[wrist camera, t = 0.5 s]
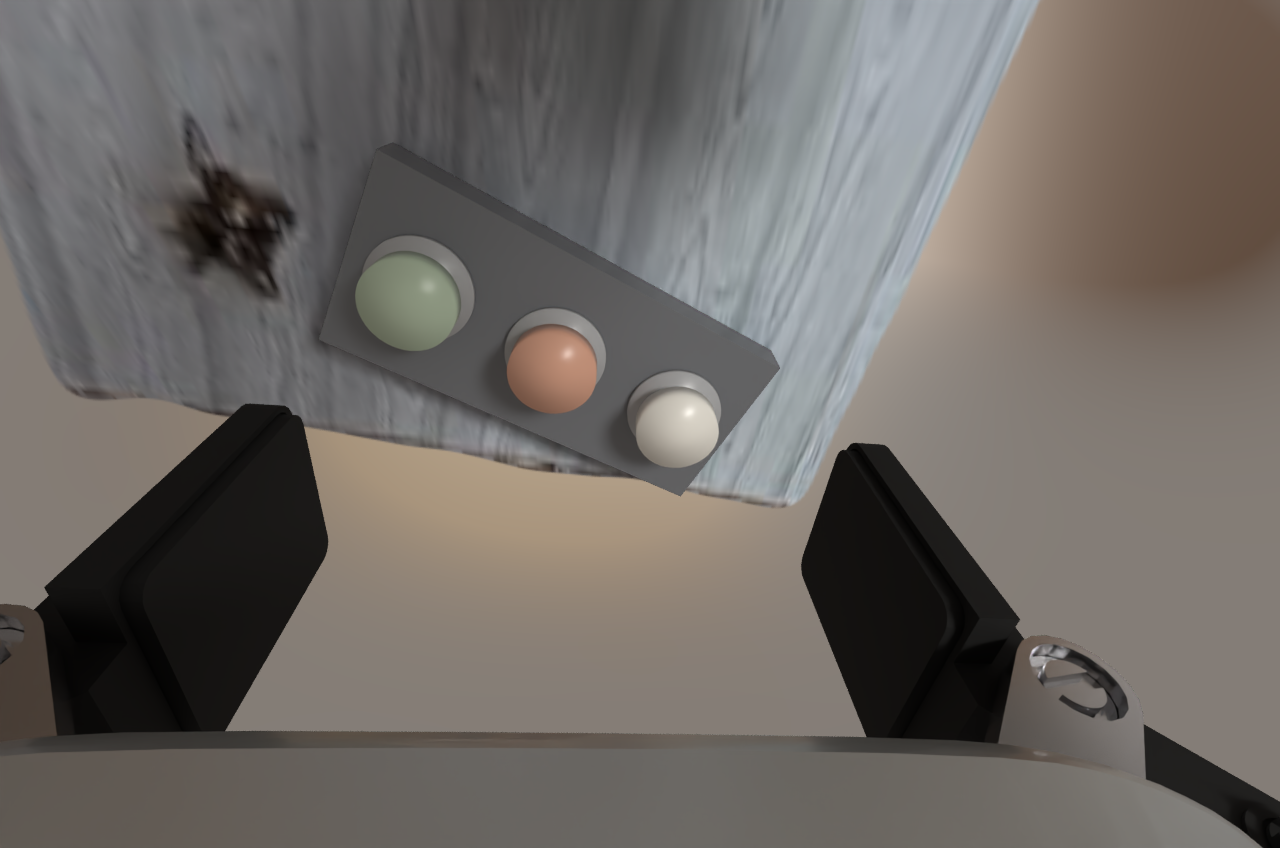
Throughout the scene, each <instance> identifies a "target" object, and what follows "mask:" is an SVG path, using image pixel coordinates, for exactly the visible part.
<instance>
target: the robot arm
mask: <svg viewBox="0 0 1280 848" xmlns="http://www.w3.org/2000/svg"><path fill="white" fill-rule="evenodd" d="M327 548H328V535H327V531H326V526H325V522H324V517H323V512H322V508H321V503H320V499H319V494H318V489H317V485H316V480H315V476H314V471H313V466H312V462H311V457H310V453H309V448H308V443H307V439H306V434H305V430H304V425H303V422H302V419H301V418H300V417H299V416H297V415H292V413H291V411H290V410H289V408H287V407H286V406H279V405H264V404H245V405H243V406H242V407H240V408H239V409H238V410H237V411H236V412H235V413H234V414H233V415H232V416H231V417H230V418H228V419H227V420H226V421H225V422H224V423H223V424H222V425H221V426H220V427H219V428H218V429H216V430H215V431H214V432H213V433H212V434H211V435H210V436H209V437H208V438H207V439H206V440H204V441H203V442H202V443H201V444H200V445H199V446H198V447H197V448H196V449H195V450H194V451H192V452H191V454H189V455H188V456H187V457H186V458H185V459H184V460H183V461H182V462H180V463H179V464H178V465H177V466H176V467H175V468H174V469H173V470H172V471H171V472H170V473H168V474H167V475H166V476H165V477H164V478H163V479H162V480H161V481H160V482H159V483H158V484H156V485H155V486H154V487H153V488H152V489H151V490H150V491H149V492H148V493H147V494H146V495H145V496H143V497H142V498H141V499H140V500H139V501H138V502H137V503H136V504H135V505H134V506H132V507H131V508H130V509H129V510H128V511H127V512H126V513H125V514H124V515H123V516H122V517H120V518H119V519H118V520H117V521H116V522H115V523H114V524H113V525H112V526H111V527H110V528H109V529H107V530H106V531H105V532H104V533H103V534H102V535H101V536H100V537H99V538H98V539H96V540H95V541H94V542H93V543H92V544H91V545H90V546H89V547H88V548H87V549H86V550H84V551H83V552H82V553H81V554H80V555H79V556H78V557H77V558H76V559H75V560H74V561H72V562H71V563H70V564H69V565H68V566H67V567H66V568H65V569H64V570H63V571H62V572H60V573H59V574H58V575H57V576H56V577H55V578H54V579H53V580H52V581H51V582H50V583H48V584H47V585H46V586H45V590H46V591H47V593H48V595H49V596H48V597H47V598H46V599H45V600H44V601H43V602H42V603H41V604H40V605H39V606H37V607H36V608H35V609H34V610H32V609H30V608H28V607H26V606H21V605H11V604H0V848H1280V802H1279V801H1277V800H1276V799H1274V798H1272V797H1270V796H1269V795H1267V794H1265V793H1263V792H1262V791H1260V790H1258V789H1256V788H1255V787H1253V786H1251V785H1249V784H1248V783H1246V782H1244V781H1242V780H1241V779H1239V778H1237V777H1235V776H1233V775H1232V774H1230V773H1228V772H1227V771H1225V770H1223V769H1221V768H1219V767H1218V766H1216V765H1214V764H1212V763H1211V762H1209V761H1207V760H1205V759H1204V758H1202V757H1200V756H1199V755H1197V754H1195V753H1193V752H1191V751H1190V750H1188V749H1186V748H1184V747H1183V746H1181V745H1179V744H1177V743H1176V742H1174V741H1172V740H1170V739H1169V738H1167V737H1165V736H1163V735H1162V734H1160V733H1158V732H1156V731H1155V730H1153V729H1151V728H1149V727H1148V726H1146V725H1144V724H1143V711H1142V708H1141V704H1140V700H1139V698H1138V697H1137V695H1136V694H1135V692H1134V690H1133V689H1132V687H1131V686H1130V684H1129V683H1128V682H1127V681H1126V680H1125V679H1124V678H1123V677H1122V676H1121V675H1120V674H1119V673H1118V672H1117V671H1116V670H1115V669H1114V668H1113V667H1112V666H1110V665H1109V664H1108V663H1106V662H1105V661H1104V660H1102V659H1101V658H1100V657H1099V656H1097V655H1095V654H1093V653H1092V652H1090V651H1088V650H1086V649H1085V648H1083V647H1081V646H1079V645H1077V644H1074V643H1072V642H1069V641H1067V640H1064V639H1062V638H1057V637H1052V636H1047V635H1037V636H1030V637H1028V638H1026V639H1024V638H1023V637H1022V636H1021V634H1020V633H1019V632H1018V630H1017V629H1016V627H1015V626H1016V625H1017V623H1018V622H1019V620H1020V619H1019V617H1018V616H1017V615H1016V613H1015V612H1014V611H1013V610H1012V608H1011V607H1010V606H1009V604H1008V603H1007V602H1006V600H1005V599H1004V598H1003V597H1002V595H1001V594H1000V593H999V591H998V590H997V589H996V588H995V586H994V585H993V584H992V582H991V581H990V580H989V578H988V577H987V576H986V574H985V573H984V572H983V571H982V569H981V568H980V567H979V565H978V564H977V563H976V561H975V560H974V559H973V558H972V556H971V555H970V554H969V552H968V551H967V550H966V548H965V547H964V546H963V545H962V543H961V542H960V541H959V539H958V538H957V537H956V535H955V534H954V533H953V531H952V530H951V529H950V528H949V526H948V525H947V524H946V522H945V521H944V520H943V519H942V517H941V516H940V515H939V513H938V512H937V511H936V509H935V508H934V507H933V505H932V504H931V503H930V502H929V500H928V499H927V498H926V496H925V495H924V494H923V492H922V491H921V490H920V488H919V487H918V486H917V485H916V483H915V482H914V481H913V479H912V478H911V477H910V476H909V474H908V473H907V472H906V470H905V469H904V468H903V466H902V465H901V464H900V462H899V461H898V460H897V459H896V457H895V456H894V455H893V453H892V452H891V451H890V449H889V448H888V447H886V446H885V445H879V444H864V443H853V444H851V445H850V446H849V447H848V448H847V450H842V451H840V452H839V454H838V455H837V458H836V461H835V463H834V466H833V469H832V472H831V475H830V478H829V481H828V484H827V487H826V490H825V493H824V495H823V499H822V501H821V504H820V508H819V510H818V513H817V516H816V519H815V522H814V525H813V528H812V531H811V534H810V537H809V540H808V543H807V545H806V548H805V551H804V554H803V557H802V564H801V570H802V576H803V579H804V581H805V584H806V586H807V589H808V591H809V594H810V596H811V599H812V602H813V604H814V606H815V609H816V611H817V614H818V617H819V619H820V622H821V624H822V627H823V629H824V631H825V634H826V637H827V639H828V642H829V644H830V647H831V649H832V652H833V654H834V657H835V659H836V662H837V664H838V667H839V669H840V671H841V674H842V677H843V679H844V681H845V684H846V687H847V689H848V691H849V694H850V697H851V699H852V702H853V704H854V707H855V709H856V711H857V714H858V717H859V719H860V721H861V724H862V726H863V729H864V732H865V734H866V737H829V736H828V737H827V736H765V735H764V736H761V735H760V736H759V735H700V734H694V735H693V734H619V733H612V734H611V733H610V734H609V733H519V732H518V733H516V732H515V733H514V732H511V733H510V732H509V733H508V732H364V731H360V732H359V731H355V732H354V731H350V732H349V731H225V730H226V728H227V727H228V725H229V723H230V722H231V719H232V718H233V716H234V714H235V713H236V711H237V709H238V708H239V706H240V704H241V702H242V701H243V699H244V697H245V695H246V694H247V692H248V690H249V689H250V687H251V685H252V683H253V681H254V680H255V678H256V676H257V674H258V673H259V671H260V669H261V668H262V666H263V664H264V662H265V661H266V659H267V657H268V656H269V654H270V652H271V650H272V649H273V647H274V645H275V643H276V642H277V640H278V638H279V636H280V635H281V633H282V631H283V630H284V628H285V626H286V624H287V623H288V621H289V619H290V617H291V616H292V614H293V612H294V610H295V609H296V607H297V605H298V603H299V602H300V600H301V598H302V596H303V595H304V593H305V591H306V590H307V588H308V586H309V584H310V583H311V581H312V579H313V577H314V576H315V574H316V572H317V570H318V569H319V567H320V565H321V563H322V562H323V560H324V558H325V556H326V552H327Z"/></svg>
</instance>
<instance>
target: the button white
mask: <svg viewBox="0 0 1280 848" xmlns="http://www.w3.org/2000/svg"><path fill="white" fill-rule="evenodd" d="M635 423H636V440H637V444H638V447H639V449H640V450H641V452H642V453H643V455H644V456H645V457H646V458H648V459H649V460H650V461H652V462H653V463H655V464H658V465H660V466H664V467H670V468H681V467H687V466H690V465H693V464H695V463H697V462H699V461H701V460H702V459H704V458H705V457H706V456H708V455H709V454H710V452H711V451H712V450H713V448H714V447H715V445H716V443H717V440H718V435H719V428H718V423H717V419H716V416H715V412H714V409H713V406H712V404H711V403H710V401H709V400H708V399H707V398H706V397H705V396H704V395H703V394H701V393H700V392H698V391H696V390H694V389H691V388H687V387H677V386H676V387H668V388H664V389H661V390H659V391H656V392H655V393H653V394H651V395H650V396H649V397H647V398H646V399H645V400H644V401H643V403H642V404H641V405H640V407H639V409H638V412H637V415H636V422H635Z"/></svg>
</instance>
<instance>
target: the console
mask: <svg viewBox="0 0 1280 848" xmlns="http://www.w3.org/2000/svg"><path fill="white" fill-rule="evenodd" d="M396 251H413V252H418V253H421V254H424V255H426V256H429V257H431V258H432V259H434V260H436V261H437V262H438V263H440V264H441V265H442V266H443V267H444V268H446V270H447V271H448V272H449V273H450V274H451V276H452V277H453V278H454V280H455V282H456V284H457V286H458V289H459V292H460V296H461V311H460V315H459V318H458V320H457V322H456V324H455V325H454V327H453V329H452V330H451V332H450V334H449V335H448V336H447V338H446V339H445V340H444V341H443V342H441V343H440V344H439V345H437V346H435V347H433V348H430V349H427V350H422V351H408V350H402V349H398V348H395V347H393V346H390V345H388V344H387V343H385V342H383V341H382V340H380V339H379V338H377V337H376V336H375V335H374V334H373V333H372V332H371V331H370V330H369V329H368V328H367V327H366V325H365V324H364V322H363V321H362V319H361V317H360V315H359V313H358V310H357V306H356V300H355V292H356V287H357V283H358V281H359V279H360V277H361V276H362V274H363V273H364V272H365V271H366V270H367V269H368V268H369V267H370V266H371V265H373V264H374V263H375V262H376V261H377V260H378V259H380V258H381V257H383V256H384V255H386V254H389V253H392V252H396ZM543 324H559V325H564V326H567V327H570V328H572V329H574V330H576V331H578V332H579V333H581V334H582V335H583V336H584V337H585V338H586V339H587V340H588V341H589V342H590V344H591V345H592V347H593V349H594V351H595V354H596V358H597V376H596V384H595V388H594V390H593V392H592V394H591V396H590V397H589V399H588V400H587V401H586V402H585V403H584V404H582V405H581V406H580V407H578V408H576V409H574V410H572V411H569V412H565V413H558V414H550V413H544V412H540V411H537V410H534V409H532V408H530V407H528V406H527V405H525V404H524V403H522V402H521V401H520V400H519V399H518V398H517V397H516V396H515V394H514V393H513V391H512V389H511V388H510V385H509V383H508V379H507V365H508V361H509V358H510V355H511V352H512V349H513V347H514V345H515V343H516V341H517V340H518V339H519V337H520V336H521V335H522V334H523V333H525V332H526V331H528V330H529V329H531V328H533V327H536V326H539V325H543ZM318 340H320V341H323V342H325V343H327V344H329V345H332V346H334V347H336V348H339V349H341V350H343V351H346V352H348V353H350V354H353V355H355V356H357V357H360V358H362V359H364V360H366V361H369V362H371V363H373V364H376V365H378V366H380V367H383V368H385V369H387V370H390V371H392V372H394V373H396V374H399V375H401V376H403V377H406V378H408V379H410V380H413V381H415V382H417V383H420V384H422V385H424V386H427V387H429V388H431V389H433V390H436V391H438V392H440V393H443V394H445V395H447V396H450V397H452V398H454V399H457V400H459V401H461V402H464V403H466V404H468V405H470V406H473V407H475V408H477V409H480V410H482V411H484V412H487V413H489V414H491V415H494V416H496V417H498V418H501V419H503V420H505V421H507V422H510V423H512V424H514V425H517V426H519V427H521V428H524V429H526V430H528V431H531V432H533V433H535V434H538V435H540V436H542V437H544V438H547V439H549V440H551V441H554V442H556V443H558V444H561V445H563V446H565V447H568V448H570V449H572V450H575V451H577V452H579V453H581V454H584V455H586V456H588V457H591V458H593V459H595V460H598V461H600V462H602V463H605V464H607V465H609V466H612V467H614V468H616V469H618V470H621V471H623V472H625V473H628V474H630V475H632V476H635V477H637V478H639V479H642V480H644V481H646V482H649V483H651V484H653V485H655V486H658V487H660V488H663V489H665V490H667V491H669V492H672V493H674V494H676V495H679V496H681V495H682V494H683V492H684V491H685V490H686V489H687V487H688V486H689V485H690V483H691V482H692V481H693V480H694V478H695V477H696V476H697V474H698V473H699V472H700V471H701V469H702V468H703V467H704V465H705V464H706V463H707V462H708V460H709V459H710V458H711V456H712V455H713V454H714V453H715V451H716V450H717V449H718V447H719V446H720V445H721V444H722V442H723V441H724V440H725V438H726V437H727V436H728V435H729V433H730V432H731V431H732V429H733V428H734V427H735V426H736V424H737V423H738V422H739V420H740V419H741V418H742V417H743V415H744V414H745V413H746V411H747V410H748V409H749V408H750V406H751V405H752V404H753V402H754V401H755V400H756V399H757V397H758V396H759V395H760V393H761V392H762V391H763V390H764V388H765V387H766V386H767V384H768V383H769V382H770V381H771V379H772V378H773V377H774V375H775V374H776V373H777V372H778V370H779V369H780V367H779V365H778V363H777V361H776V359H775V357H774V355H773V353H772V351H771V350H769V349H767V348H766V347H764V346H762V345H760V344H758V343H757V342H755V341H753V340H751V339H749V338H747V337H746V336H744V335H742V334H740V333H738V332H737V331H735V330H733V329H731V328H729V327H727V326H726V325H724V324H722V323H720V322H718V321H717V320H715V319H713V318H711V317H709V316H708V315H706V314H704V313H702V312H700V311H698V310H697V309H695V308H693V307H691V306H689V305H688V304H686V303H684V302H682V301H680V300H678V299H677V298H675V297H673V296H671V295H669V294H668V293H666V292H664V291H662V290H660V289H658V288H657V287H655V286H653V285H651V284H649V283H648V282H646V281H644V280H642V279H640V278H638V277H637V276H635V275H633V274H631V273H629V272H628V271H626V270H624V269H622V268H620V267H618V266H617V265H615V264H613V263H611V262H609V261H608V260H606V259H604V258H602V257H600V256H598V255H597V254H595V253H593V252H591V251H589V250H588V249H586V248H584V247H582V246H580V245H578V244H577V243H575V242H573V241H571V240H569V239H568V238H566V237H564V236H562V235H560V234H558V233H557V232H555V231H553V230H551V229H549V228H548V227H546V226H544V225H542V224H540V223H538V222H537V221H535V220H533V219H531V218H529V217H528V216H526V215H524V214H522V213H520V212H518V211H517V210H515V209H513V208H511V207H509V206H508V205H506V204H504V203H502V202H500V201H498V200H497V199H495V198H493V197H491V196H489V195H488V194H486V193H484V192H482V191H480V190H479V189H477V188H475V187H473V186H471V185H469V184H468V183H466V182H464V181H462V180H460V179H459V178H457V177H455V176H453V175H451V174H449V173H448V172H446V171H444V170H442V169H440V168H439V167H437V166H435V165H433V164H431V163H429V162H428V161H426V160H424V159H422V158H420V157H419V156H417V155H415V154H413V153H411V152H409V151H408V150H406V149H404V148H402V147H400V146H399V145H397V144H395V143H390V144H388V145H385V146H383V147H380V148H378V149H376V152H375V156H374V159H373V162H372V165H371V169H370V172H369V175H368V178H367V182H366V185H365V188H364V192H363V195H362V198H361V201H360V205H359V208H358V211H357V215H356V218H355V221H354V224H353V228H352V231H351V234H350V238H349V241H348V244H347V247H346V251H345V254H344V257H343V261H342V264H341V267H340V270H339V274H338V277H337V280H336V284H335V287H334V290H333V293H332V297H331V300H330V303H329V307H328V310H327V313H326V316H325V320H324V323H323V326H322V330H321V333H320V336H319V339H318ZM676 386H677V387H687V388H691V389H694V390H696V391H698V392H700V393H701V394H703V395H704V396H705V397H706V398H707V399H708V400H709V401H710V403H711V404H712V406H713V409H714V412H715V416H716V419H717V423H718V428H719V435H718V440H717V443H716V445H715V447H714V448H713V450H712V451H711V452H710V454H709V455H708V456H706V457H705V458H704V459H702V460H701V461H699V462H697V463H695V464H693V465H690V466H687V467H681V468H670V467H664V466H660V465H658V464H655V463H653V462H652V461H650V460H649V459H648V458H646V457H645V456H644V455H643V453H642V452H641V450H640V449H639V447H638V444H637V440H636V423H635V422H636V415H637V412H638V409H639V407H640V405H641V404H642V403H643V401H644V400H645V399H646V398H647V397H649V396H650V395H651V394H653V393H655V392H656V391H659V390H661V389H664V388H668V387H676Z"/></svg>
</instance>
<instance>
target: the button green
mask: <svg viewBox="0 0 1280 848" xmlns="http://www.w3.org/2000/svg"><path fill="white" fill-rule="evenodd" d="M355 300H356V306H357V310H358V313H359V315H360V317H361V319H362V321H363V322H364V324H365V325H366V327H367V328H368V329H369V330H370V331H371V332H372V333H373V334H374V335H375V336H376V337H377V338H379V339H380V340H382V341H383V342H385V343H387V344H388V345H390V346H393V347H395V348H398V349H402V350H408V351H422V350H427V349H430V348H433V347H435V346H437V345H439V344H440V343H441V342H443V341H444V340H445V339H446V338H447V336H448V335H449V334H450V332H451V330H452V329H453V327H454V325H455V324H456V322H457V320H458V318H459V315H460V311H461V296H460V292H459V289H458V286H457V284H456V282H455V280H454V278H453V277H452V276H451V274H450V273H449V272H448V271H447V270H446V268H444V267H443V266H442V265H441V264H440V263H438V262H437V261H436V260H434V259H432V258H431V257H429V256H426V255H424V254H421V253H418V252H413V251H396V252H392V253H389V254H386V255H384V256H383V257H381V258H380V259H378V260H377V261H376V262H375V263H374V264H373V265H371V266H370V267H369V268H368V269H367V270H366V271H365V272H364V273H363V274H362V276H361V277H360V279H359V281H358V283H357V287H356V292H355Z"/></svg>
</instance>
